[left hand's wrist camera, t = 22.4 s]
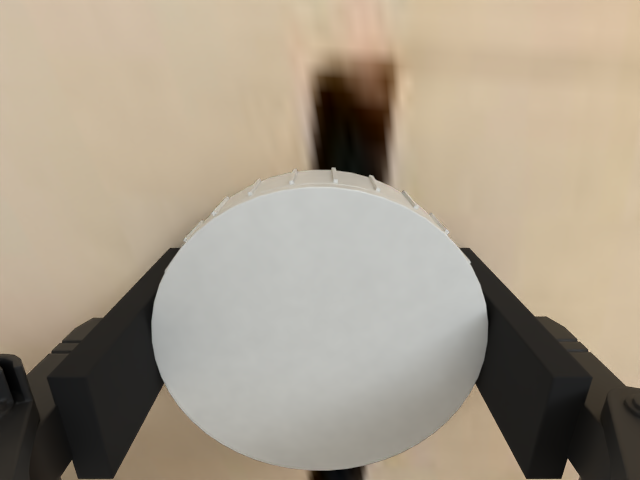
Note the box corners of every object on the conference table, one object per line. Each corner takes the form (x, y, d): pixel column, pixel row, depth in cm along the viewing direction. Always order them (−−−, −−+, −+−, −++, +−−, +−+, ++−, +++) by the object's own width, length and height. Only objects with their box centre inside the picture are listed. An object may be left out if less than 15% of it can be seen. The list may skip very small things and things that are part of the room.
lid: (120, 320, 12) (83, 362, 10) (304, 93, 10) (300, 94, 8) (330, 457, 15) (331, 513, 13) (523, 298, 12) (562, 338, 10)
